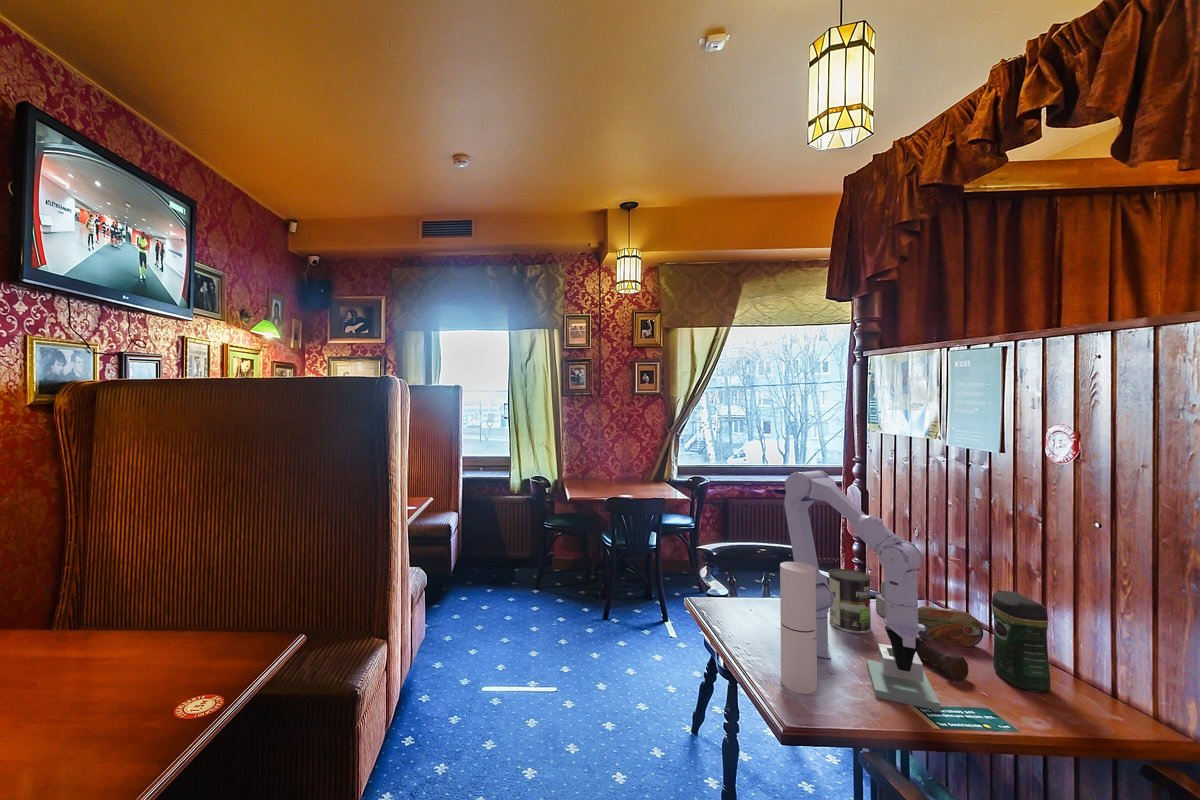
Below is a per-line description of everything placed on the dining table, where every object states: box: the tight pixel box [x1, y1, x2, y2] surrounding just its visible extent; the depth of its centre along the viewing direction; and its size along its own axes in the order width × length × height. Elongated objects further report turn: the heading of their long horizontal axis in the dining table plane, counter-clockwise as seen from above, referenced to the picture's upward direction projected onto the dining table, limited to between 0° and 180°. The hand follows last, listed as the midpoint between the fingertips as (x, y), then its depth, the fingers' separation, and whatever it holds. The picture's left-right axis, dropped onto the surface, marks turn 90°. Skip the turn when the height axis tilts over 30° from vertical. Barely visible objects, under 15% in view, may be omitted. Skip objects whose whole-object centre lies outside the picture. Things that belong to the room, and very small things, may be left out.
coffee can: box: [828, 568, 872, 634], centre depth 127 cm, size 10×10×14 cm
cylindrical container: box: [779, 561, 818, 695], centre depth 99 cm, size 7×7×25 cm
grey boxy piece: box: [877, 643, 924, 682], centre depth 98 cm, size 7×7×4 cm
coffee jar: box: [991, 590, 1051, 693], centre depth 101 cm, size 10×8×19 cm
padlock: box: [875, 580, 886, 618], centre depth 134 cm, size 7×4×10 cm, turn 2°
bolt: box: [916, 636, 969, 682], centre depth 108 cm, size 6×5×15 cm
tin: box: [917, 605, 984, 648], centre depth 118 cm, size 15×3×8 cm, turn 68°
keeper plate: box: [866, 659, 941, 712], centre depth 98 cm, size 11×13×4 cm
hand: (902, 667), depth 95 cm, fingers closed on grey boxy piece
